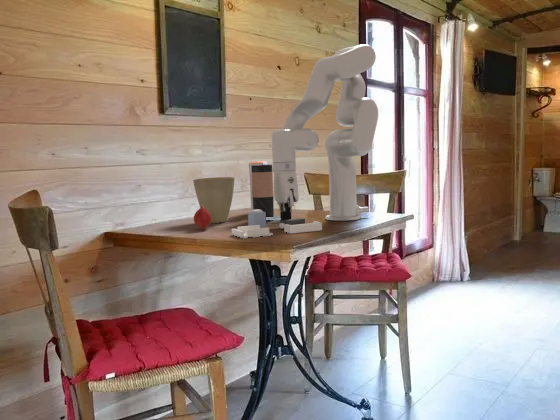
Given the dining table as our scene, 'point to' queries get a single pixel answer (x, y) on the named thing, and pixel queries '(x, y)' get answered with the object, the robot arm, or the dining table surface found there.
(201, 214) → the onion
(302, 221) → the dark grey bar
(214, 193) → the plant pot
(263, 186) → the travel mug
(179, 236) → the dining table surface
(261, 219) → the block
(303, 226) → the clip
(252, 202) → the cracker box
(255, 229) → the holder
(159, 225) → the dining table surface
